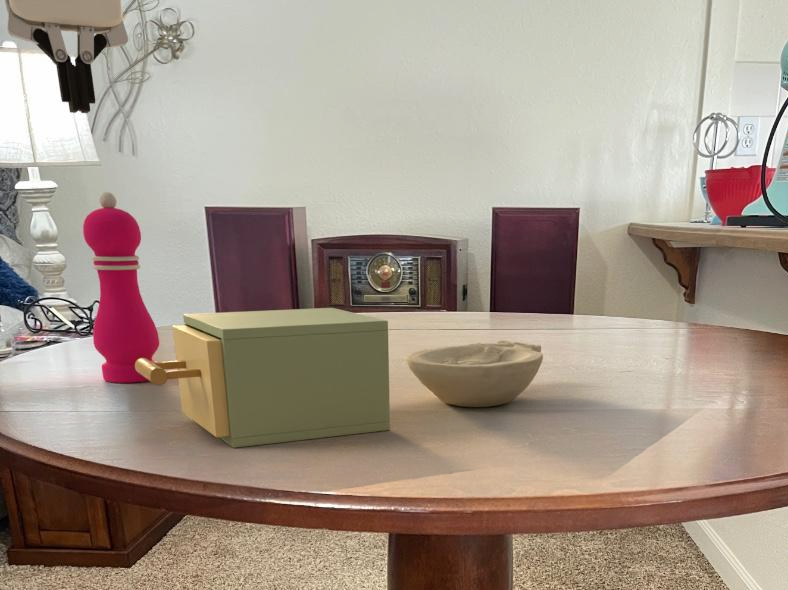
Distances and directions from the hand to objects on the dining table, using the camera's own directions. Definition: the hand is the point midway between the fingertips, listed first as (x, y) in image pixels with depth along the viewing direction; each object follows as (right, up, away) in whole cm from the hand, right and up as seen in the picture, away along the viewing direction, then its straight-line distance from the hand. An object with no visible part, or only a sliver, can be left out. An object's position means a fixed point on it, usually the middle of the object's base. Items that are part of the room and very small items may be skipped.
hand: (80, 111), depth 88 cm
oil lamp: (+41, -26, +9) cm, 49 cm away
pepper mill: (-1, -22, +17) cm, 28 cm away
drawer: (+18, -32, -7) cm, 37 cm away
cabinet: (+22, -32, -5) cm, 39 cm away
